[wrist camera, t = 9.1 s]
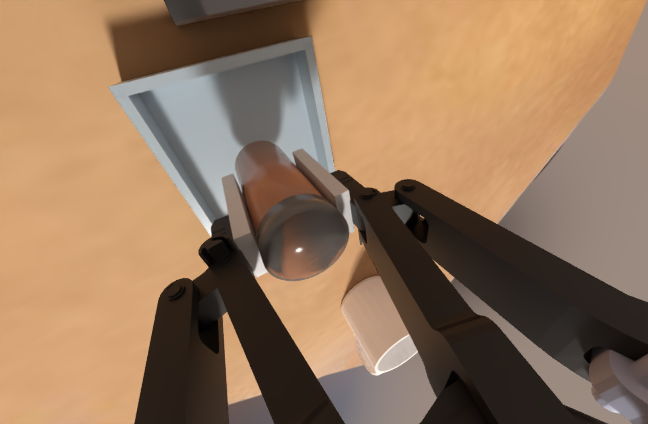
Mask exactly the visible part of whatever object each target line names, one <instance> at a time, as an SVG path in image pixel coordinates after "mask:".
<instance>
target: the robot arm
mask: <svg viewBox="0 0 648 424" xmlns="http://www.w3.org/2000/svg"><path fill="white" fill-rule="evenodd" d="M292 153H293V157H294V160H295V164H296V166H297V168H298V169H299V170H300V171H301V172H302V173H303V174H304V175H305V177H306V178H307V179H308V180H309V181H310V182H311V183H312V185H313V186H314V187H315V188H316V189H317V190H318V191H319V192H320V194H321V195H322V196H323V197H324V198H326V199H327V200H329V201H330V202H331V203H332V204H333V205H334V206H335V207H336V209H337V210H338V211H339V212H340V213H341V214H342V215H343V216H344V218H345V219H346V221H347V223H348V226H349V234H350V233H352V232H354V231H355V230H354V224H355V225H356V226H357V228H358V232H359V240H360V245H362V242H363V244H364V246H365V248H366V250H367V252H368V254H369V256H370V258H371V260H372V262H373V264H374V266H375V268H376V270H377V272H378V274H379V276H380V277H381V279H382V281H383V283H384V285H385V287H386V289H387V291H388V293H389V295H390V297H391V299H392V301H393V303H394V305H395V307H396V309H397V311H398V313H399V315H400V317H401V319H402V321H403V323H404V325H405V327H406V329H407V331H408V333H409V335H410V337H411V339H412V341H413V343H414V345H415V347H416V349H417V351H418V353H419V354H420V357H421V359H422V361H423V363H424V366H425V369H426V373H427V376H428V379H429V382H430V384H431V386H432V389H433V391H434V393H435V395H436V397H437V399H436V401H435V402H434V404H433V406H432V407H431V408H430V410H429V411H428V413H427V414H426V416H425V417H424V419H423V420H422V422H421V423H420V424H607V423H605V422H603V421H600V420H598V419H595V418H593V417H591V416H589V415H586V414H584V413H582V412H579V411H577V410H575V409H572V408H570V407H568V406H565V405H563V404H562V403H561V402H560V400H559V399H558V398H557V397H556V396H555V394H554V393H553V392H552V391H551V390H550V388H549V387H548V386H547V385H546V383H545V382H544V381H543V380H542V379H541V377H540V376H539V375H538V374H537V373H536V371H535V370H534V369H533V368H532V367H531V365H530V364H529V363H528V362H527V361H526V359H525V358H524V357H523V356H522V355H521V353H520V352H519V351H518V350H517V348H516V347H515V346H514V345H513V344H512V342H511V341H510V340H509V339H508V338H507V337H506V335H505V334H504V333H503V332H502V331H501V329H500V328H499V327H498V326H497V325H496V324H495V323H494V322H493V321H492V320H490V319H489V318H487V317H486V316H480V315H477V314H476V313H474V312H473V310H472V309H471V308H470V307H469V306H468V304H467V303H466V302H465V301H464V299H463V298H462V297H461V295H460V294H459V293H458V292H457V290H456V289H455V288H454V286H453V285H452V284H451V283H450V281H449V280H448V279H447V278H446V276H445V275H444V274H443V272H442V271H441V270H440V269H439V267H438V266H437V265H436V263H435V262H437V263H438V264H439V265H440V266H441V267H443V268H444V269H445V270H446V271H447V272H449V273H450V274H451V275H452V276H453V277H455V278H456V279H457V280H458V281H460V282H461V283H462V284H463V285H464V286H466V287H467V288H468V289H469V290H470V291H472V292H473V293H474V294H475V295H477V296H478V297H479V298H480V299H481V300H482V301H484V302H485V303H486V304H487V305H488V306H490V307H491V308H492V309H493V310H495V311H496V312H497V313H498V314H499V315H501V316H502V317H503V318H504V319H505V320H507V321H508V322H509V323H510V324H511V325H513V326H514V327H515V328H517V330H519V331H520V332H521V333H522V334H524V335H525V336H526V337H527V338H528V339H530V340H531V341H532V342H533V343H534V344H536V345H537V346H538V347H539V348H541V349H542V350H543V351H545V352H546V353H547V354H548V355H550V356H551V357H552V358H554V359H555V360H557V361H558V362H560V363H561V364H563V365H564V366H566V367H567V368H569V369H570V370H571V371H573V372H574V373H576V374H578V375H580V376H581V377H583V378H585V379H586V380H588V381H590V382H591V383H592V386H593V387H592V389H591V390H592V395H593V396H594V398H595V400H596V401H597V402H599V404H600V405H601V406H602V407H604V408H606V409H607V410H609V411H611V412H615V413H621V414H622V415H623V416H624V417H626V418H627V419H628V420H629V421H631V423H632V424H648V302H645V301H642V300H640V299H637V298H635V297H632V296H629V295H627V294H625V293H623V292H621V291H619V290H617V289H616V288H614V287H612V286H610V285H608V284H606V283H605V282H603V281H601V280H599V279H597V278H595V277H594V276H592V275H590V274H588V273H586V272H584V271H582V270H581V269H579V268H577V267H575V266H573V265H571V264H570V263H568V262H566V261H564V260H562V259H560V258H559V257H557V256H555V255H553V254H551V253H549V252H547V251H545V250H544V249H542V248H540V247H538V246H536V245H534V244H533V243H531V242H529V241H527V240H525V239H523V238H522V237H520V236H518V235H516V234H514V233H513V232H511V231H509V230H507V229H505V228H503V227H501V226H500V225H498V224H496V223H494V222H492V221H490V220H489V219H487V218H485V217H483V216H481V215H479V214H478V213H476V212H474V211H472V210H470V209H468V208H466V207H465V206H463V205H461V204H459V203H457V202H455V201H454V200H452V199H450V198H448V197H446V196H444V195H443V194H441V193H439V192H437V191H435V190H433V189H431V188H430V187H428V186H426V185H424V184H422V183H420V182H419V181H416V180H411V179H406V180H401V181H399V182H397V183H396V184H395V190H393V191H388V192H382V193H380V192H379V191H378V190H377V189H374V188H365V187H363V186H362V185H361V184H360V183H358V182H357V181H356V180H355V179H353V178H352V177H351V176H350V175H348V174H347V173H346V172H344V171H340V170H337V171H335V172H332V173H329V172H328V171H327V170H326V169H325V168H324V167H322V166H321V165H320V164H319V163H318V162H317V161H316V160H315V159H314V158H312V157H311V156H310V155H309V154H308V153H307V152H306V151H305V150H304V149H299V150H296V151H293V152H292ZM221 179H222V184H223V189H224V194H225V199H226V204H227V210H228V215H227V216H224V217H222V218H219V219H217V220H214V222H213V224H212V226H211V236H212V237H211V238H209V239H208V240H206V241H205V242H204V243H203V244H202V245H201V247H200V249H199V255H200V257H201V258H202V259H203V261H204V262H205V263H206V264H207V266H208V267H209V268H208V269H207V270H206V271H205V272H204V273H203V274H202V275H200V276H199V277H197V278H196V279H195V280H193V281H192V280H190V279H189V278H182V279H179V280H176V281H174V282H173V283H171V284H170V285H169V286H167V287H166V288H165V289H164V291H163V292H162V293H161V295H160V297H159V300H158V305H157V310H156V315H155V320H154V325H153V331H152V336H151V341H150V346H149V351H148V356H147V362H146V367H145V372H144V377H143V382H142V387H141V393H140V398H139V403H138V408H137V413H136V418H135V423H134V424H229V418H228V401H227V384H226V367H225V350H224V334H223V317H222V315H224V314H225V313H226V312H228V314H229V317H230V319H231V322H232V324H233V326H234V329H235V331H236V333H237V336H238V338H239V341H240V343H241V345H242V348H243V350H244V352H245V355H246V357H247V360H248V362H249V364H250V367H251V369H252V372H253V374H254V376H255V379H256V381H257V383H258V386H259V388H260V391H261V393H262V395H263V398H264V400H265V402H266V405H267V407H268V410H269V412H270V414H271V417H272V419H273V421H274V424H345V423H344V421H343V420H342V418H341V417H340V415H339V413H338V412H337V410H336V409H335V407H334V405H333V404H332V402H331V400H330V399H329V397H328V396H327V394H326V392H325V391H324V389H323V387H322V386H321V384H320V383H319V381H318V379H317V378H316V376H315V375H314V373H313V371H312V370H311V368H310V366H309V365H308V363H307V362H306V360H305V358H304V357H303V355H302V354H301V352H300V350H299V349H298V347H297V346H296V344H295V342H294V341H293V339H292V337H291V336H290V334H289V333H288V331H287V329H286V328H285V326H284V325H283V323H282V321H281V320H280V318H279V316H278V315H277V313H276V312H275V310H274V308H273V307H272V305H271V304H270V302H269V300H268V299H267V297H266V295H265V294H264V292H263V291H262V289H261V287H260V286H259V284H258V283H257V281H256V279H255V277H254V274H255V276H256V277H259V276H261V275H263V274H265V273H267V272H268V271H267V270H266V268H265V267H264V264H263V262H262V258H261V255H260V252H259V248H258V245H257V241H256V232H255V229H254V226H253V223H252V220H251V217H250V214H249V211H248V208H247V205H246V202H245V199H244V196H243V193H242V191H241V189H240V187H239V185H238V183H237V181H236V179H235V177H234V175H233V174H230V175H227V176H225V177H222V178H221ZM420 215H421V216H422V217H424V218H422V217H420ZM432 259H433V260H434V261H435V262H434V261H433V260H432Z"/></svg>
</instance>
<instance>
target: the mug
mask: <svg viewBox="0 0 648 424" xmlns="http://www.w3.org/2000/svg"><path fill="white" fill-rule="evenodd" d="M341 310H342V313H343V315H344V317H345V318H346V320H347V322H348V324H349V326H350V327H351V329H352V331H353V333H354V334H355V341H356V346H357V349H358V352H359V355H360V357H361V360H362V362H363V364H364V365H365V367H366V369H367V370H368V371H369V372H370V373H371V374H372V375H380V374H381V373H384V372H387V371H390V370H392V369H394V368H396V367H398V366H400V365H401V364H403V363H404V362H406V361H407V360H408V359H410V358H411V357H412V356H414V354H416V353H417V352H418V351H417V349H416V347H415V345H414V343H413V341H412V339H411V337H410V335H409V333H408V331H407V329H406V327H405V325H404V323H403V321H402V319H401V317H400V315H399V313H398V311H397V309H396V307H395V305H394V303H393V301H392V299H391V297H390V295H389V293H388V291H387V289H386V287H385V285H384V283H383V281H382V279H381V277H380V276H373V277H369V278H367V279H365V280H363V281H361V282H359V283H358V284H356V285H355V286H354V287H353V288H352V289H351V290H350V291H349V292H348V293H347V294H346V296H345V297H344V299H343V301H342V305H341Z"/></svg>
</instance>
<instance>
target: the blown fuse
mask: <svg viewBox="0 0 648 424" xmlns="http://www.w3.org/2000/svg"><path fill="white" fill-rule="evenodd" d="M235 171H236V174H237V177H238V180H239V183H240V187H241V190H242V193H243V196H244V199H245V202H246V205H247V208H248V211H249V214H250V217H251V220H252V223H253V226H254V229H255V232H256V241H257V245H258V248H259V252H260V255H261V258H262V262H263V264H264V267H265V268H266V270H267V271H268V272H269V273H270V274H271V275H272V276H274V277H276V278H278V279H281V280H286V281H299V280H304V279H308V278H311V277H313V276H316V275H318V274H320V273H322V272H323V271H325V270H326V269H328V268H329V267H330V266H331V265H333V264H334V263H335V262H336V261H337V259H338V258H339V257H340V256H341V254H342V253H343V251H344V250H345V247H346V245H347V242H348V239H349V226H348V223H347V221H346V219H345V218H344V216H343V215H342V214H341V213H340V212H339V211H338V210H337V209H336V207H335V206H334V205H333V204H332V203H331V202H330V201H329V200H327V199H326V198H324V197H323V196H322V195H321V194H320V192H319V191H318V190H317V189H316V188H315V187H314V186H313V185H312V183H311V182H310V181H309V180H308V179H307V178H306V177H305V175H304V174H303V173H302V172H301V171H300V170H299V169H298V168H297V166H296V165H295V164H294V163H293V162H292V161H291V160H290V158H289V157H288V156H287V155H286V154H285V153H284V152H283V151H282V149H281V148H280V147H278V146H277V145H276V144H274V143H272V142H268V141H255V142H252V143H249V144H248V145H246V146H245V147H243V148H242V149H241V150H240V152H239V153H238V155H237V157H236V161H235Z"/></svg>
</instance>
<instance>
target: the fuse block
mask: <svg viewBox="0 0 648 424" xmlns="http://www.w3.org/2000/svg"><path fill="white" fill-rule="evenodd" d="M295 1H300V0H164V2H165V4H166V6H167V8H168V10H169V13H170V15H171V17H172V19H173V21H174V23H175V24H176V26H181V25H185V24H190V23H195V22H200V21H204V20H209V19H214V18H219V17H224V16H228V15H233V14H238V13H243V12H247V11H252V10H257V9H262V8H266V7H271V6H276V5H281V4H285V3H290V2H295Z"/></svg>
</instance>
